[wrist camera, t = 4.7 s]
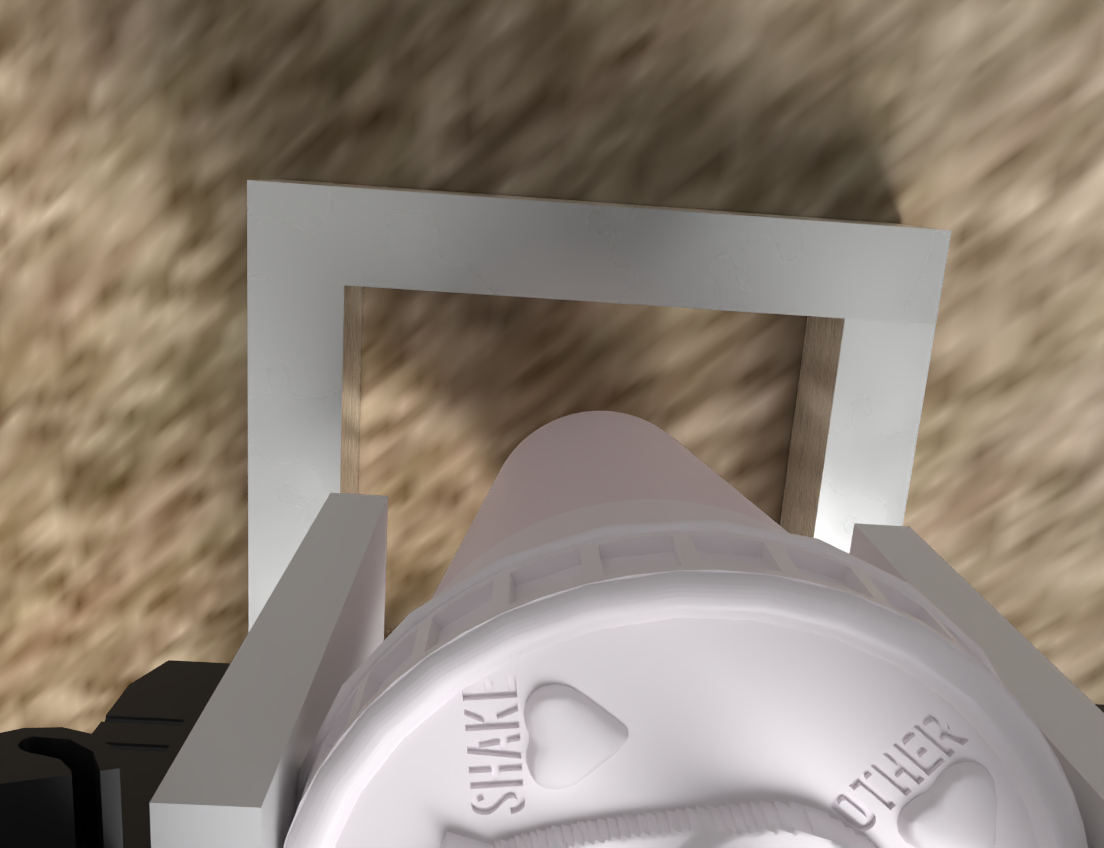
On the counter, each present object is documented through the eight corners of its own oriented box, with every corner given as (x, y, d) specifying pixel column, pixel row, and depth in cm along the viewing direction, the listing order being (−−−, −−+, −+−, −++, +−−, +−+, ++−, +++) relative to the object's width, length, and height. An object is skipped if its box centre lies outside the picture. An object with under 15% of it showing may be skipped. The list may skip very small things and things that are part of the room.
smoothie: (702, 729, 18) (1237, 2468, 4) (360, 623, 17) (-244, 2303, 4) (846, 402, 16) (2321, 1531, 3) (477, 273, 16) (174, 961, 2)
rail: (277, 179, 17) (246, 179, 15) (903, 224, 18) (951, 230, 16) (273, 1181, 22) (250, 1277, 20) (754, 1191, 23) (777, 1284, 21)
